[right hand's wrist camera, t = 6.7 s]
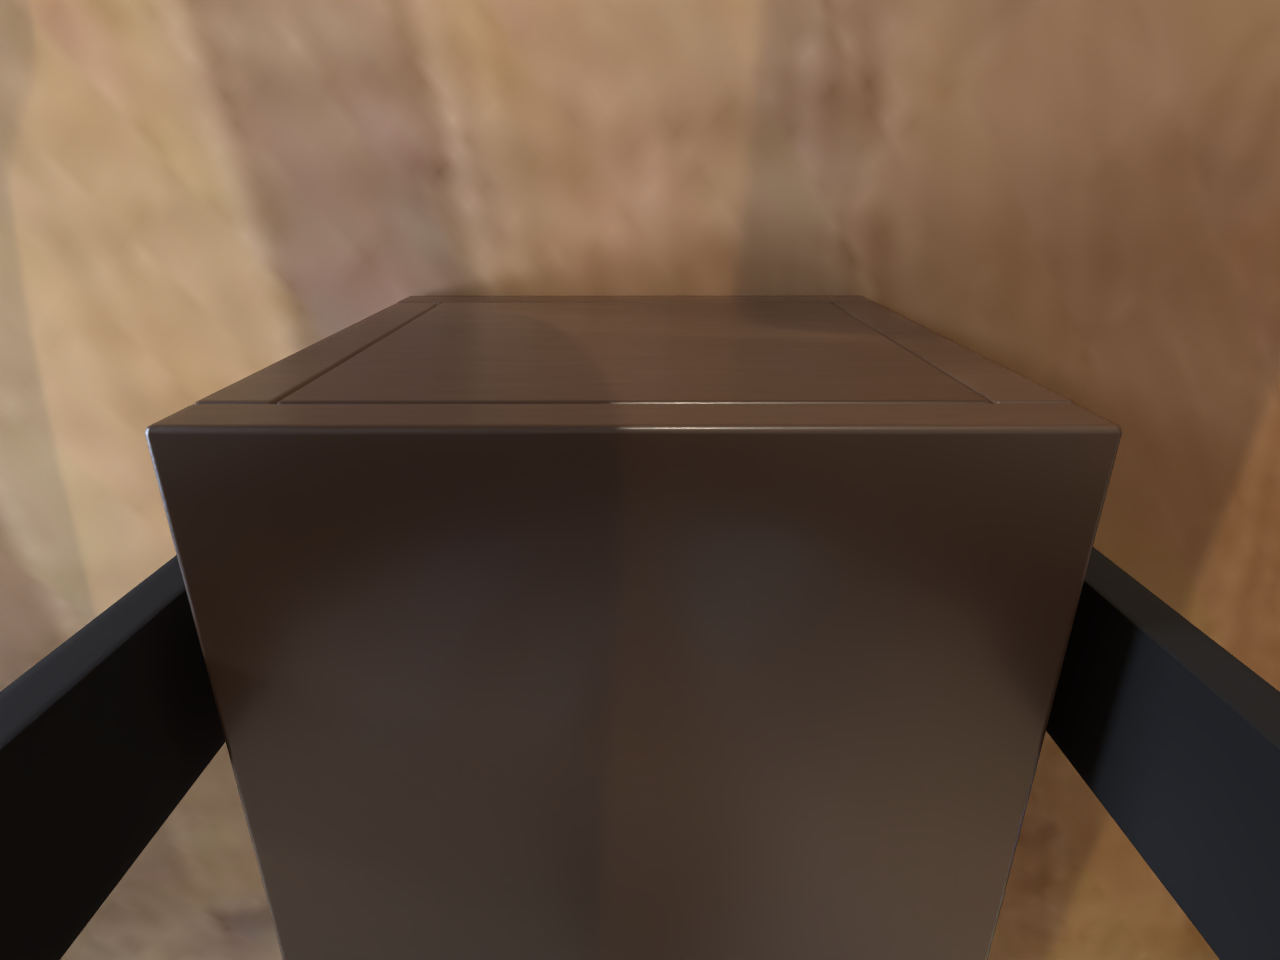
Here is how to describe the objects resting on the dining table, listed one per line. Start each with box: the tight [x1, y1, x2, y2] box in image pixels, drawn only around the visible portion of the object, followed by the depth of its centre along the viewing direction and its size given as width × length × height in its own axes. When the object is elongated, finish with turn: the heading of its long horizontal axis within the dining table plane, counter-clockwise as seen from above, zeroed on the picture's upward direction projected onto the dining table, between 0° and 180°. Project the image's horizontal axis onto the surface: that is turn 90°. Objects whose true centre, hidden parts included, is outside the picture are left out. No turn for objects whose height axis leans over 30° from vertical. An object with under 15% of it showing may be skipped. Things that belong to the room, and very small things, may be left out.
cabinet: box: [145, 296, 1121, 960], centre depth 17 cm, size 22×11×11 cm, turn 0°
